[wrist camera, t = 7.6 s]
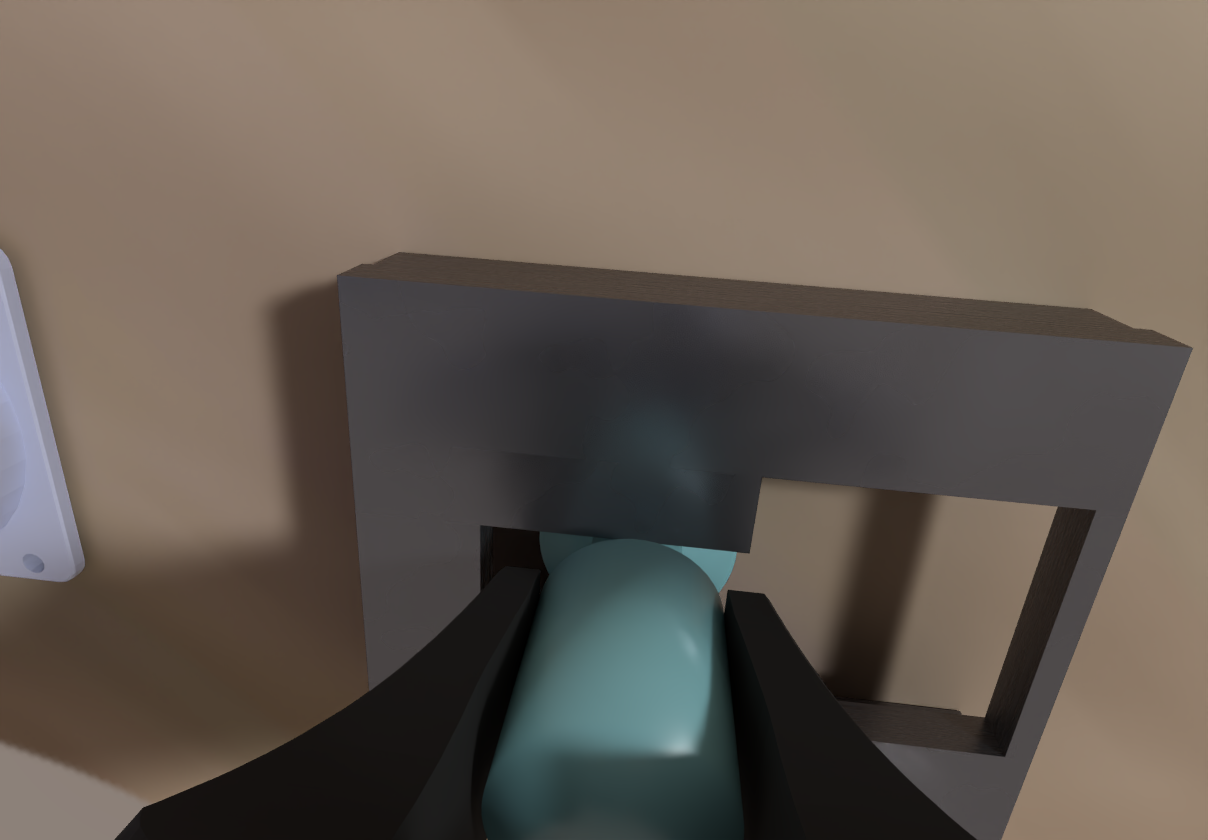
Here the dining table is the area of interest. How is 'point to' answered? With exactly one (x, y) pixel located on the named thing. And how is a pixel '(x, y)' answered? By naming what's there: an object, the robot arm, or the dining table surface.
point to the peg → (621, 701)
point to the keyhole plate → (738, 447)
